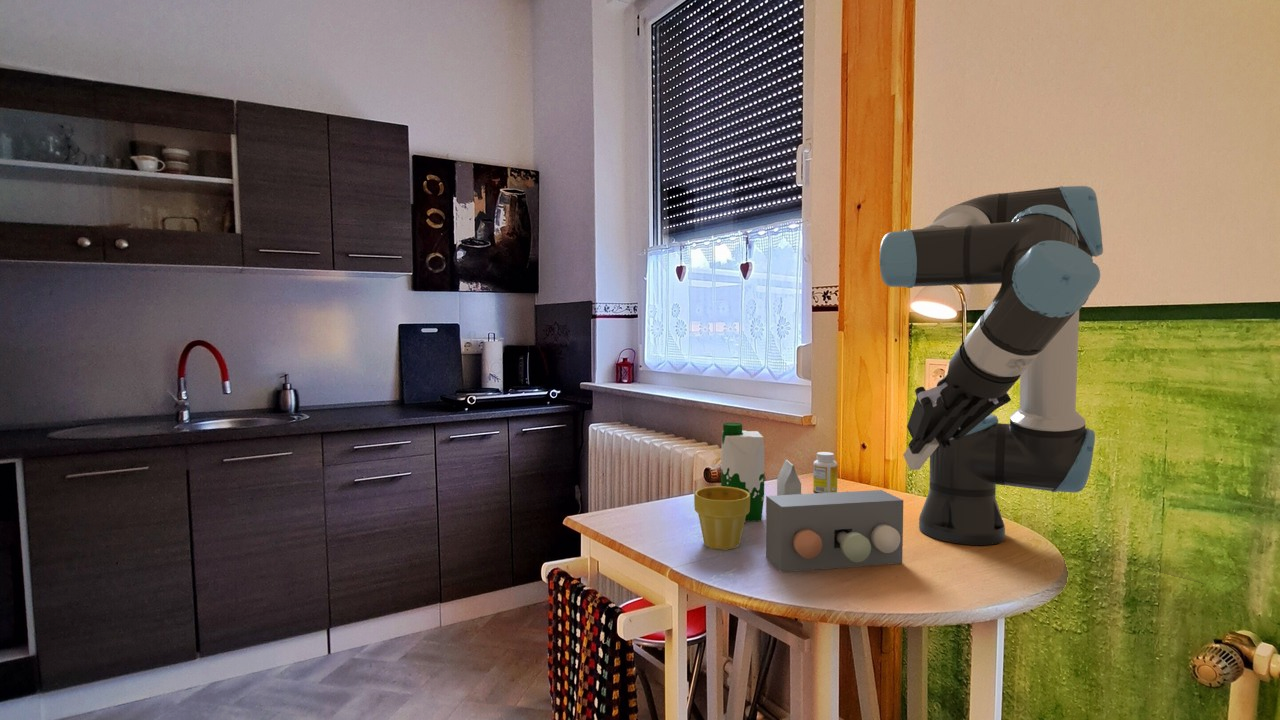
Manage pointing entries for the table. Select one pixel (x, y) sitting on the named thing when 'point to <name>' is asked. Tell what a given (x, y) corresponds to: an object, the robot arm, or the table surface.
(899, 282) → the robot arm
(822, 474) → the supplement bottle
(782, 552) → the control box
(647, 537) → the table surface
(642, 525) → the table surface
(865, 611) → the table surface
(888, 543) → the ivory button
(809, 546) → the terracotta button
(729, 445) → the milk carton
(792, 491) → the white gabled block
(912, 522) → the table surface
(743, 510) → the plant pot
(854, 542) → the sage button
